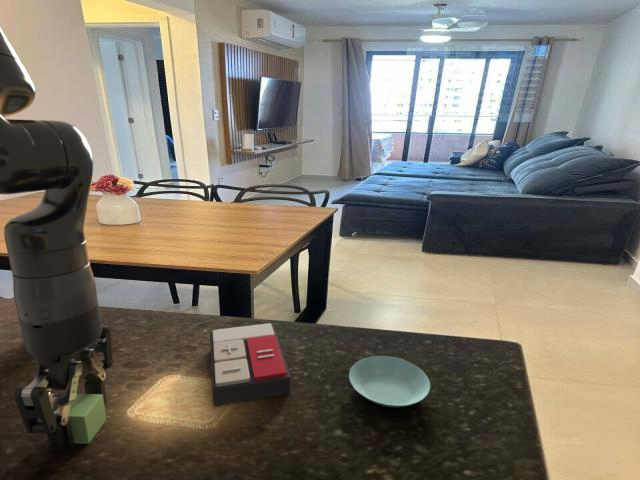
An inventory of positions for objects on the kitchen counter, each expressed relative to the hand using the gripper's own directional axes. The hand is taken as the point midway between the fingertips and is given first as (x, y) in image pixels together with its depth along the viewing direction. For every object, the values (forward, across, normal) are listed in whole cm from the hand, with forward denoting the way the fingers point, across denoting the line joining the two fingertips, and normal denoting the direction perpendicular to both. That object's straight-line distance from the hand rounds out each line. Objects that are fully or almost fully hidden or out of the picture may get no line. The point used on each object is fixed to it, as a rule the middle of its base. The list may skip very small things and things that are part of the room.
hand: (81, 425), depth 48 cm
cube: (+1, 0, 0) cm, 1 cm away
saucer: (+1, -9, +40) cm, 41 cm away
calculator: (+1, -14, +18) cm, 23 cm away
